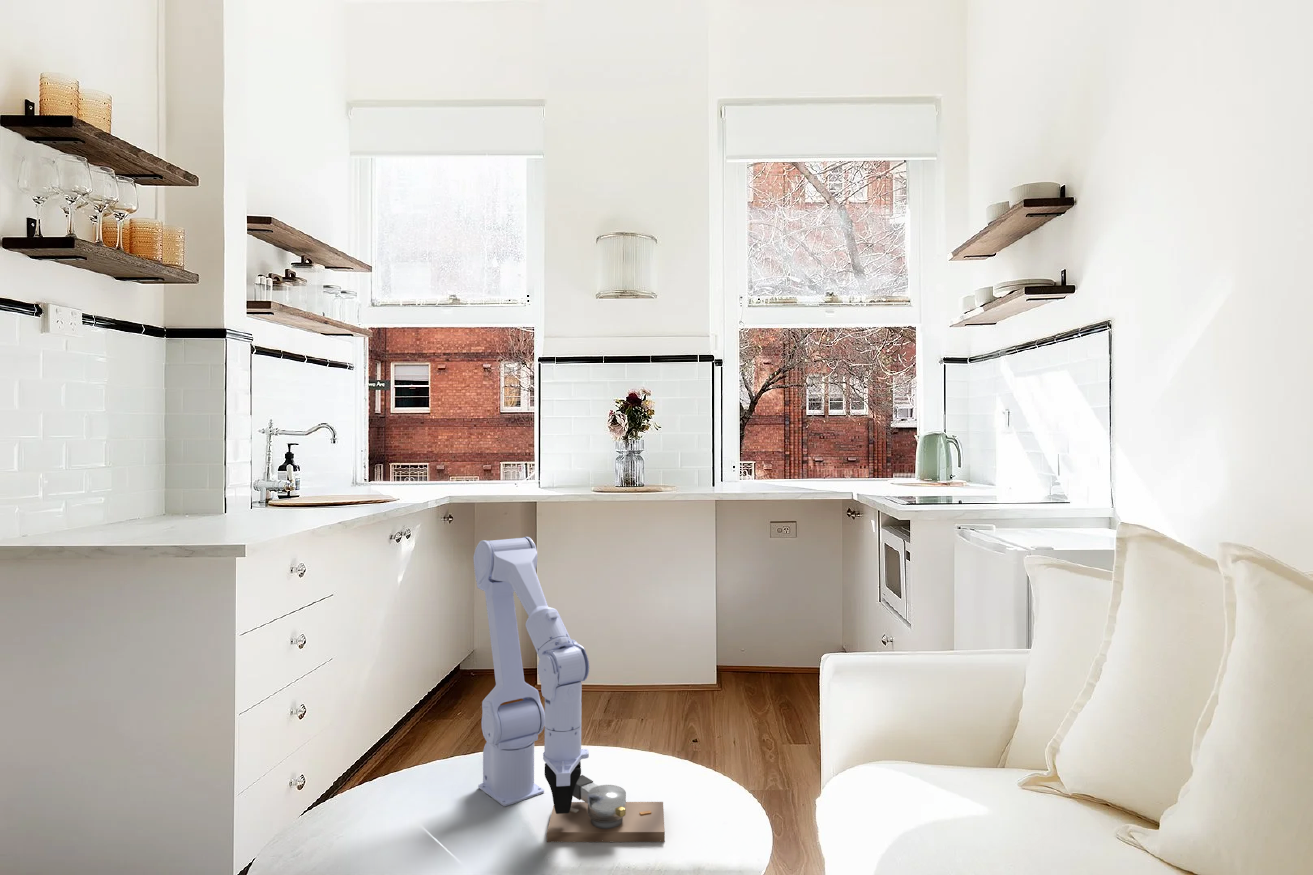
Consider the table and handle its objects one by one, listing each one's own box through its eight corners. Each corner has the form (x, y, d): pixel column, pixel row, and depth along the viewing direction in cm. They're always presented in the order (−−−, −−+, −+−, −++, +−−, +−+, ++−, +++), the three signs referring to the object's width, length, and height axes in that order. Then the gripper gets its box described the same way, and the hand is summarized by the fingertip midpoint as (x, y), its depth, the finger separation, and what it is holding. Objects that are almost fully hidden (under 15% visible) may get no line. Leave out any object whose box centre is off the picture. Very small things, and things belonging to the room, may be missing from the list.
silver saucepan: (637, 816, 119) (638, 796, 119) (607, 828, 115) (607, 809, 115) (590, 787, 129) (590, 769, 129) (560, 798, 125) (560, 780, 125)
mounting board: (554, 810, 126) (554, 795, 126) (663, 810, 127) (663, 795, 127) (546, 841, 117) (547, 825, 117) (664, 841, 117) (664, 825, 117)
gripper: (590, 742, 113) (590, 833, 113) (586, 706, 127) (586, 788, 127) (542, 744, 112) (542, 836, 112) (543, 708, 126) (543, 790, 126)
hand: (562, 811), depth 120 cm, fingers closed
